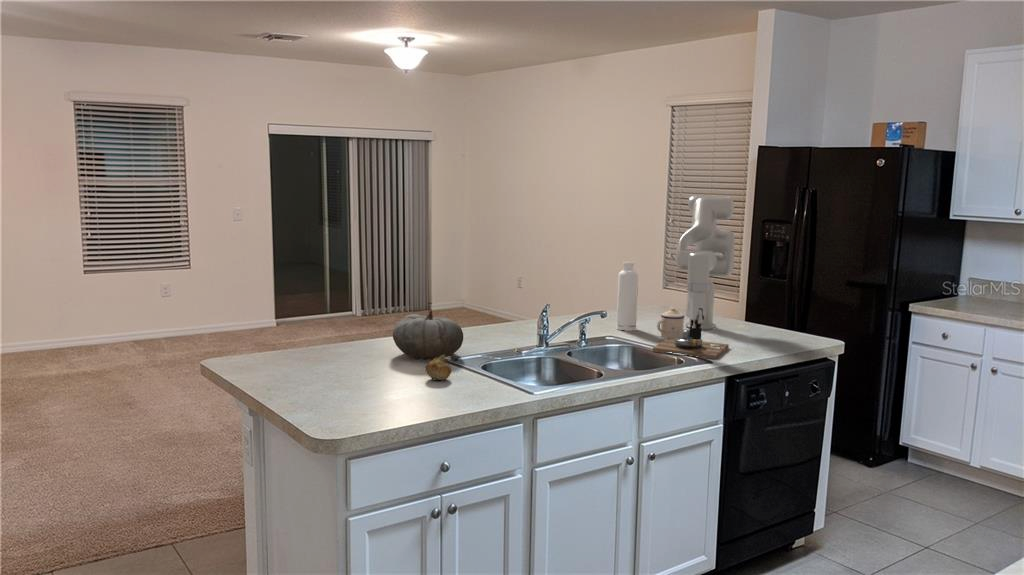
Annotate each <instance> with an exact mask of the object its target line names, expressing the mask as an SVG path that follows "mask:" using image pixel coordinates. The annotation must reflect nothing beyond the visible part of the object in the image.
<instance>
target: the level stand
mask: <svg viewBox="0 0 1024 575" xmlns="http://www.w3.org/2000/svg"><path fill="white" fill-rule="evenodd" d="M729 347H730V346H729V344H728V343H720V342H712V341H703V342H702V347H699V348H685V347H679V346H676V345H675V338H670V337H669V338H665V339H664V340H662V341H661V342H659V343H658V344H656V345H655V346H653V347H652V352H653V353H654V352H655V353H660V354H661V353H662V354H665V353H664V352H672V353H681V354H687V355H692V356H698V357H697V358H700V357H706V358H705V359H708V358H712V359H711V360H717V359H718V358H720V357H721V355H723V354H724V353H725V352H726V351H727V350H728V349H729ZM722 353H723V354H722ZM692 356H691V357H692ZM716 358H717V359H716Z"/></svg>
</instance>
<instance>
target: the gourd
mask: <svg viewBox="0 0 1024 575" xmlns="http://www.w3.org/2000/svg"><path fill="white" fill-rule="evenodd" d="M392 339H393V341H394V344H395V345H396V348H398V349H399V350H400V351H401V352H402V353H403V354H405V355H406V356H409V357H410V358H412V359H415V360H418V359H419V361H420V359H422V361H423V360H426V359H429V360H434V359H435V358H438V357H440V356H441V355H446V356H445V357H449V356H450V357H451V356H452V355H454V354H455V353H457V351H459V349H461V347H462V345H463V343H464V332H463V329H462V327H461V326H460V325H459V324H458V323H457V322H455V321H454V320H452V319H451V318H446V317H442V316H433V309H430V310H429V312H428V314H427V316H426V315H420V314H418V313H414V314H413V313H412V314H408V315H406V316H404V317H403V318H402V319H401V320H399V321H398V322H397V323H396V325H395V326H394V328H393V332H392Z"/></svg>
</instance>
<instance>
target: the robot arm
mask: <svg viewBox="0 0 1024 575" xmlns="http://www.w3.org/2000/svg"><path fill="white" fill-rule="evenodd" d="M687 204H688V205H687V206H688V210H689V212H690V213H691V215H692V217H691V218H692V220H691V228H689V229H688V230H687V231H685V232H684V233H683V234H682V236H680V238H679V240H678V241H677V246H676V251H675V252H676V253H675V265H676V267H677V268H678V269H680V270H684V271H687V275H686V276H687V278H686V281H687V282H686V292H687V295H686V296H687V297H686V304H685V305H686V306H685V317H687V318H688V319H689V321H687V322H686V323H685V327H686V328H688V329H689V330H690V333H689V336H690V337H692V339H702V331H710V330H711V331H712V330H716V329H717V324H716V323H713V322H714V321H713V320H714V307H715V306H714V302H715V285H714V282H713V281H712V280H711V279H710V277H729V276H731V275H732V274H733V272H734V264H735V244H736V243H735V239H736V238H735V235H734V233H733V232H732V231H731V230H729V229H718V228H717V222H718V220H719V221H720V220H721V221H723V220H724V221H728V220H730V219H731V218H732V217H733V214H734V209H735V202H734V200H733V198H732V196H728V195H706V194H705V195H696V194H695V195H692V196H691V197H689V198H688V201H687ZM692 245H694V248H695V249H688V248H687V247H690V246H692ZM692 326H693V328H692Z"/></svg>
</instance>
